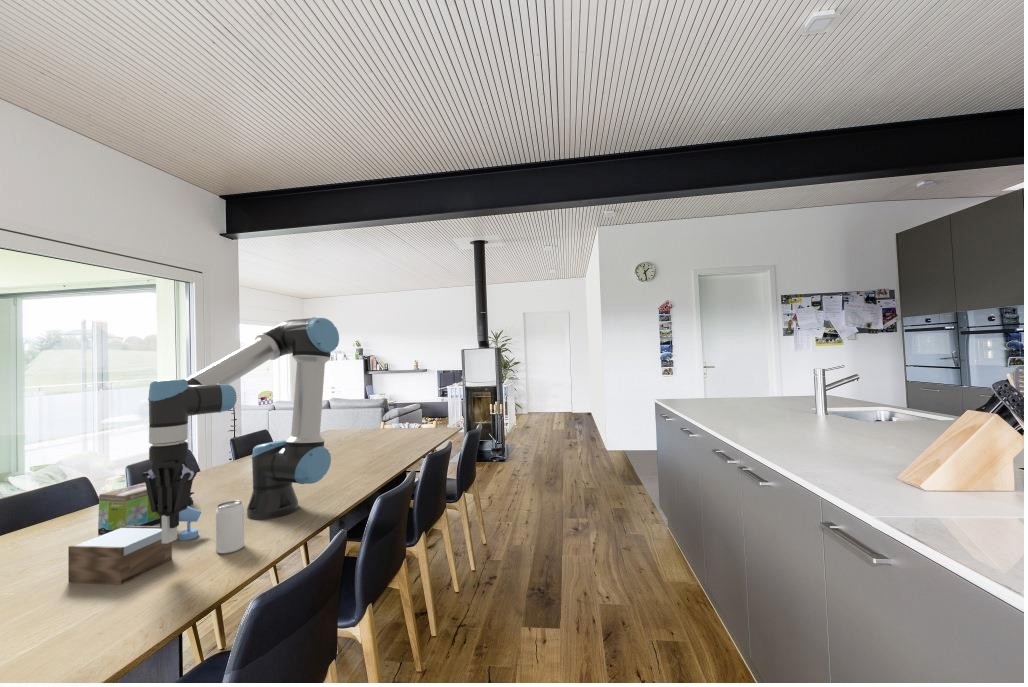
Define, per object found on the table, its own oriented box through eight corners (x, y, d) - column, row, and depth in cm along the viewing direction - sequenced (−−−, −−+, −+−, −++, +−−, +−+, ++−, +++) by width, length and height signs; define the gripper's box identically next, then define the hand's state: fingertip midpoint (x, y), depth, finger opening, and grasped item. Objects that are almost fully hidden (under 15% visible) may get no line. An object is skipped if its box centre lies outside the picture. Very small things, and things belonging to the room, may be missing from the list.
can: (250, 545, 122) (249, 501, 122) (228, 555, 116) (227, 508, 116) (232, 543, 124) (232, 499, 124) (209, 552, 118) (209, 506, 118)
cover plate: (167, 536, 114) (167, 528, 114) (124, 555, 103) (124, 547, 103) (121, 535, 116) (121, 527, 116) (74, 554, 105) (74, 545, 105)
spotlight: (171, 543, 125) (201, 536, 129) (171, 507, 125) (201, 502, 130) (172, 538, 129) (201, 531, 133) (171, 503, 129) (200, 498, 134)
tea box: (126, 550, 122) (125, 495, 122) (96, 548, 124) (96, 494, 124) (177, 529, 136) (177, 480, 137) (150, 527, 138) (150, 479, 139)
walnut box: (171, 558, 115) (171, 526, 115) (121, 584, 102) (121, 548, 102) (124, 557, 117) (124, 525, 117) (68, 582, 104) (68, 546, 104)
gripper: (205, 439, 112) (206, 535, 111) (159, 440, 113) (159, 534, 113) (179, 445, 104) (180, 548, 103) (130, 446, 106) (130, 547, 105)
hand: (169, 541), depth 108 cm, fingers closed
